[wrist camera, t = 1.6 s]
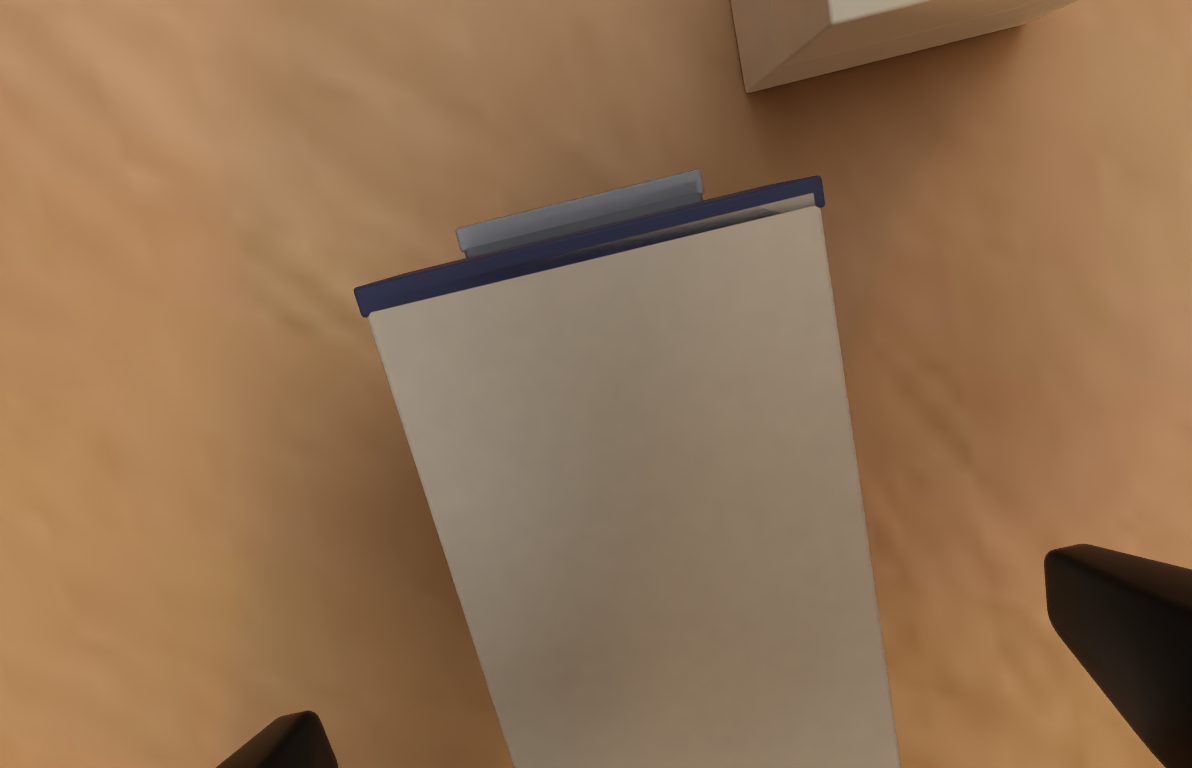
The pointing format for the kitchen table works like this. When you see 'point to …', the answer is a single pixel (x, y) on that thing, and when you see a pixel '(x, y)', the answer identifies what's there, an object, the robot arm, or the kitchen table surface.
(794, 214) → the cream book
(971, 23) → the navy and tan block
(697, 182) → the dark grey block
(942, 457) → the kitchen table surface
